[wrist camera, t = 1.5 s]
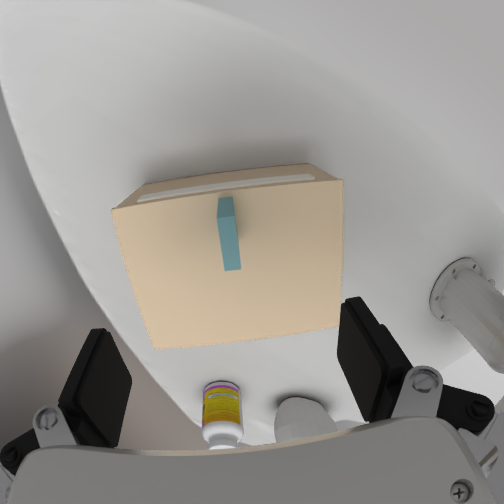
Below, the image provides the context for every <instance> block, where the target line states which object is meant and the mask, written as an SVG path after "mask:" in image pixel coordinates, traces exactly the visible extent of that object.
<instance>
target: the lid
mask: <svg viewBox="0 0 504 504" xmlns="http://www.w3.org/2000/svg"><path fill="white" fill-rule="evenodd" d="M111 213H112V217H113V222H114V226H115V230H116V233H117V237H118V241H119V245H120V249H121V252H122V256H123V259H124V263H125V266H126V269H127V273H128V276H129V279H130V283H131V286H132V289H133V292H134V295H135V298H136V301H137V304H138V307H139V310H140V313H141V316H142V319H143V321H144V324H145V327H146V330H147V332H148V335H149V338H150V340H151V343H152V346H153V348H154V349H167V348H181V347H193V346H204V345H215V344H224V343H233V342H242V341H250V340H258V339H265V338H272V337H279V336H286V335H292V334H299V333H305V332H311V331H316V330H322V329H328V328H333V327H338V326H339V319H340V305H341V289H342V268H343V226H344V202H343V180H342V179H329V180H316V181H304V182H293V183H283V184H273V185H264V186H255V187H246V188H238V189H230V190H222V191H214V192H207V193H200V194H193V195H186V196H180V197H173V198H167V199H161V200H155V201H149V202H143V203H138V204H132V205H127V206H121V207H116V208H112V209H111Z"/></svg>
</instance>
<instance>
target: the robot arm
mask: <svg viewBox="0 0 504 504" xmlns="http://www.w3.org/2000/svg"><path fill="white" fill-rule="evenodd" d="M494 285H495V281H494V280H493V279H491V280H488V281H487V280H486V279H485V278H483V277H482V273H481V269H480V266H479V265H478V264H477V263H476V262H475V261H474V260H472V259H469V258H464V259H460V260H458V261H456V262H454V263H453V264H451V265H450V266H449V267H448V268H447V269H446V270H445V271H444V272H443V273H442V274H441V276H440V277H439V279H438V280H437V282H436V284H435V286H434V288H433V291H432V294H431V298H430V309H431V312H432V313H433V315H434V316H435V317H436V318H437V319H438V320H441V321H449V320H450V321H451V322H452V323H453V324H454V325H455V326H456V327H457V329H458V330H459V331H460V332H461V333H462V334H463V335H464V336H465V338H466V339H467V340H468V341H469V342H470V343H471V344H472V346H473V347H474V348H475V349H476V350H477V352H478V353H479V354H480V355H481V356H482V357H483V359H484V360H485V361H486V362H487V364H488V365H489V366H490V367H491V368H492V369H493V370H495V371H496V372H498V373H503V374H504V296H503V295H502V294H501V293H500V292H499V291H498V290H496V289H495V288H494V287H493V286H494ZM337 358H338V361H339V363H340V365H341V368H342V370H343V372H344V375H345V377H346V379H347V381H348V384H349V386H350V388H351V391H352V393H353V395H354V398H355V400H356V402H357V405H358V407H359V409H360V412H361V414H362V416H363V419H364V421H365V422H368V421H369V424H364V425H361V426H357V427H353V428H348V429H345V430H340V431H336V432H331V433H327V434H322V435H317V436H312V437H307V438H302V439H297V440H291V441H285V442H279V443H272V444H264V445H257V446H248V447H238V448H227V449H212V450H189V451H155V450H153V451H152V450H131V449H116V448H114V447H117V446H118V442H119V437H120V433H121V428H122V423H123V419H124V414H125V410H126V406H127V401H128V397H129V393H130V389H131V386H132V378H131V375H130V373H129V371H128V369H127V367H126V365H125V363H124V361H123V359H122V357H121V355H120V353H119V351H118V348H117V346H116V344H115V342H114V340H113V337H112V335H111V333H110V332H107V330H106V329H104V328H100V329H92V330H91V331H90V333H89V335H88V337H87V339H86V341H85V343H84V345H83V347H82V349H81V351H80V353H79V355H78V357H77V359H76V361H75V364H74V366H73V368H72V370H71V372H70V375H69V377H68V379H67V381H66V384H65V386H64V388H63V391H62V393H61V395H60V398H59V400H58V401H59V404H58V406H55V405H46V406H44V407H42V408H40V409H39V410H38V411H37V412H36V414H35V416H34V418H33V427H34V428H33V429H31V430H29V431H28V432H26V433H24V434H23V435H21V436H19V437H18V438H16V439H14V440H13V441H11V442H9V443H8V444H7V445H6V446H4V447H3V449H2V451H1V453H0V504H504V396H503V398H502V399H501V400H500V401H499V402H498V403H497V404H496V405H495V406H494V404H493V403H492V401H491V400H490V399H489V398H487V397H486V396H484V395H481V394H477V393H473V392H469V391H466V390H462V389H458V388H454V387H451V386H448V385H444V384H443V379H442V376H441V374H440V373H439V372H438V371H437V370H435V369H434V368H432V367H429V366H416V367H413V366H412V364H411V363H410V361H409V360H408V358H407V357H406V355H405V354H404V352H403V351H402V349H401V348H400V346H399V345H398V344H397V342H396V341H395V339H394V338H393V336H392V335H391V333H390V332H389V330H388V329H387V328H386V326H385V325H383V324H379V323H378V321H377V320H376V318H375V317H374V315H373V314H372V312H371V311H370V310H369V308H368V307H367V305H366V304H365V302H364V301H363V300H362V298H361V297H353V298H348V299H346V300H345V303H342V304H341V312H340V325H339V336H338V346H337Z"/></svg>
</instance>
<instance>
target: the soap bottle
mask: <svg viewBox="0 0 504 504" xmlns="http://www.w3.org/2000/svg"><path fill="white" fill-rule="evenodd" d="M274 431H275V438H276V442H277V443H279V442H285V441H291V440H297V439H302V438H307V437H312V436H317V435H322V434H327V433H331V432H336V431H338V429H337V427H336V425H335V423H334V421H333V419H332V418H331V417H330V415H329V414H328V413H327V411H326V410H325V409H324V408H323V407H322V406H321V405H320V404H319V403H317V402H315V401H312V400H309V399H305V398H300V397H293V398H289V399H286V400H284V401H283V402H282V403H281V404H280V406H279V408H278V411H277V414H276V418H275V422H274Z"/></svg>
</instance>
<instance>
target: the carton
mask: <svg viewBox="0 0 504 504" xmlns="http://www.w3.org/2000/svg"><path fill="white" fill-rule="evenodd" d="M329 179H337V178H335V177H333V176H331V175H330V174H328V173H326V172H324V171H322V170H320V169H318V168H316V167H314V166H313V165H311V164H296V165H284V166H273V167H263V168H254V169H245V170H236V171H228V172H221V173H213V174H206V175H199V176H192V177H186V178H179V179H173V180H167V181H161V182H156V183H150V184H145V185H143V186H141V187H140V188H139V189H138V190H136V191H135V192H134V193H133V194H131V195H130V196H129V197H128V198H127V199H125V200H124V201H123V202H122V203H121V204H119V205H118V206H117V207H121V206H127V205H132V204H138V203H143V202H149V201H155V200H161V199H167V198H173V197H180V196H186V195H193V194H200V193H207V192H214V191H222V190H230V189H238V188H246V187H255V186H264V185H273V184H283V183H293V182H304V181H316V180H329Z"/></svg>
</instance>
